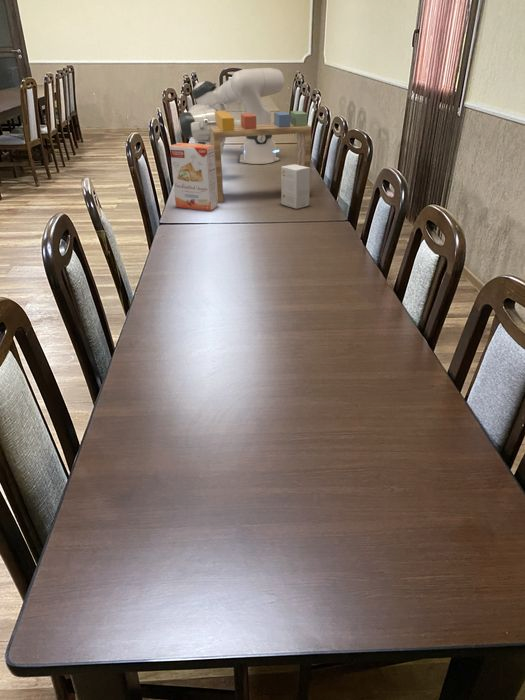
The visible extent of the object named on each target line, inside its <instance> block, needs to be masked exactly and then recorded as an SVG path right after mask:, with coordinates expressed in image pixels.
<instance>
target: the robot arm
mask: <svg viewBox="0 0 525 700" xmlns="http://www.w3.org/2000/svg"><path fill="white" fill-rule="evenodd" d="M216 85H217V83H216V82H214V83H213V82H212V81H209V80H204V81H200V82H198V83H196V85H195V86H194V87H193V88H192V91H191V94H192V98H193V99H194V100H195V103H196V104H194V105H192V106H191V107H190V108H189V110H188V111H184V112H181V114H180V115H179V117H178V128H179V132H180V133H181V135H182V136H183V137H185V138H186V139H191V138H193V140H194V144H203V145H211V137H210V126H218V125H217V124H216V123H215V111H226V112H228V111H227V109H226V106H234V105H238V104H241V103H242V105H243V107H244V110H245V113H252V114H254V115H255V116H256V124H272V117H271V116H272V113H271V110H270V108H269V107H268V106H266V105H265V104H264V103H263V102H262V98H264V97H268V96H272V95H276V94H278V93H280V92H281V91H282V90H283V88H284V85H285V77H284V74H283V72H282V71H281V70H280V69H278V68H274V67H255V68H243V69H240V70H237V71H235V72H234V73H233V74H232V76H231V78H229V79H228V80H226V81H225V82H224V83H222V84H221V85H220V86H216ZM225 105H226V106H225ZM234 125H241V119H234ZM272 137H273V135H261V136H245V141H244V142H243V145H241V146H240V152H242V154H240V157H239V163H241V164H250V165H265V164H272V163H274V162H277V161H280V158H279V157H278V156H277V153H279V152H280V149H276V142H275V141H274V140H273V139H272ZM226 139H227V137H223V138H220V146H221V153H222V152H223V149H224V147H225V142H226Z"/></svg>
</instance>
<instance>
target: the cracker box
mask: <svg viewBox="0 0 525 700" xmlns="http://www.w3.org/2000/svg"><path fill="white" fill-rule="evenodd" d="M169 150H170V151H169V152H170V164H171V171H172V180H173V181H172V182H173V191H174V192H173V193H174V201H175V203H174V204H175V208H181V209H190V210H196V211H197V210H198V211H206V212H212V211H213V210H214V209H216V208H218V207H219V203H218V200H217V182H216V166H215V150H214V145H203V144H197V143H189V142H188V143H186V142H177V143H173V144H171V145H169Z"/></svg>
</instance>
